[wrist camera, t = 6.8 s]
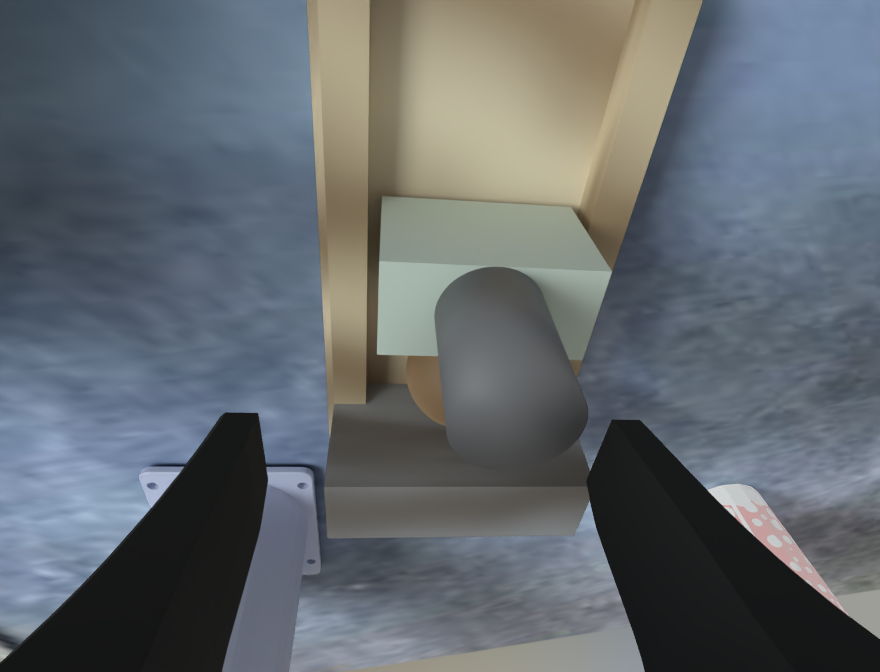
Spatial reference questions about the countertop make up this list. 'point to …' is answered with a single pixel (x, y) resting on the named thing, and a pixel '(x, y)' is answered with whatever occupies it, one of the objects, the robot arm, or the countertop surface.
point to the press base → (466, 179)
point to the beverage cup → (770, 532)
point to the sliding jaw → (493, 318)
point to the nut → (426, 386)
